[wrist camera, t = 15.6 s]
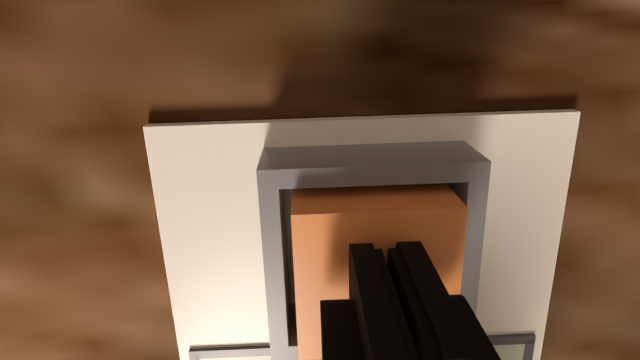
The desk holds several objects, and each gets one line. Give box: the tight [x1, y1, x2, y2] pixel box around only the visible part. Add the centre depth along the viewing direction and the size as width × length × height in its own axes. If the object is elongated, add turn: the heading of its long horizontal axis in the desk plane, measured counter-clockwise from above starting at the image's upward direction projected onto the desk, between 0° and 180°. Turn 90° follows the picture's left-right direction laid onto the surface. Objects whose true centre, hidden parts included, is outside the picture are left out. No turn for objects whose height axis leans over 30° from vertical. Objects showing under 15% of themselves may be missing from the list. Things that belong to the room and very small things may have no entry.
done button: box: [291, 183, 468, 360], centre depth 12 cm, size 4×4×2 cm
